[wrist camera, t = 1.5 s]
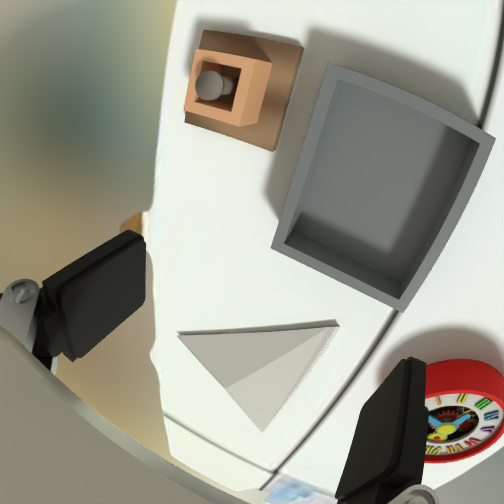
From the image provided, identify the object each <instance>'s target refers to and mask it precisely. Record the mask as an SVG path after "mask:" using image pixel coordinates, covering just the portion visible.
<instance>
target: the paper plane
mask: <svg viewBox="0 0 504 504" xmlns="http://www.w3.org/2000/svg"><path fill="white" fill-rule="evenodd" d="M339 328H340V326H338V327H323V328H312V329H301V330H288V331H275V332H252V333H221V334H202V335H179V336H177V337H178V338H179V339H180V340H181V341H182V343H183V344H184V345H185V346H186V347H187V348H188V349H189V350H190V352H191V353H192V354H193V355H194V356H195V357H196V358H197V359H198V361H199V362H200V363H201V364H202V365H203V366H204V367H205V368H206V369H207V370H208V371H209V373H210V374H211V375H212V376H213V377H214V378H215V379H216V380H217V381H218V382H219V383H220V384H221V385H222V386H223V387H224V388H225V390H226V391H227V392H228V393H229V395H230V396H231V397H232V398H233V399H234V401H235V402H236V403H237V404H238V405H239V407H240V408H241V409H242V410H243V411H244V413H245V414H246V415H247V416H248V417H249V418H250V420H251V421H252V422H253V423H254V424H255V425H256V426H257V428H258V429H259V430H260V431H261V432H263V431H264V430H265V429H266V428H267V426H268V425H269V424H270V423H271V421H272V420H273V419H274V418H275V417H276V415H277V414H278V413H279V412H280V410H281V409H282V408H283V406H284V405H285V404H286V403H287V401H288V400H289V399H290V398H291V396H292V395H293V394H294V392H295V391H296V390H297V388H298V387H299V386H300V384H301V383H302V382H303V380H304V379H305V378H306V376H307V375H308V374H309V372H310V371H311V369H312V368H313V367H314V365H315V364H316V363H317V361H318V360H319V358H320V357H321V355H322V354H323V353H324V351H325V350H326V348H327V347H328V345H329V344H330V342H331V341H332V340H333V338H334V337H335V335H336V333H337V331H338V330H339Z"/></svg>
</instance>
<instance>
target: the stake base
mask: <svg viewBox="0 0 504 504" xmlns="http://www.w3.org/2000/svg"><path fill="white" fill-rule="evenodd" d="M199 49H202V50H208V51H215V52H221V53H227V54H232V55H237V56H242V57H247V58H252V59H257V60H261V61H265V62H270V63H273V64H272V67H271V71H270V75H269V79H268V82H267V86H266V90H265V94H264V98H263V102H262V105H261V109H260V113H259V117H258V121H257V123H256V124H251V125H246V126H241V127H238V126H235V125H232V124H229V123H226V122H222V121H219V120H216V119H213V118H209V117H206V116H202V115H199V114H195V113H192V112H188V111H186V116H185V123H189V124H192V125H195V126H198V127H202V128H205V129H208V130H211V131H214V132H217V133H220V134H223V135H226V136H229V137H232V138H235V139H238V140H241V141H244V142H246V143H249V144H252V145H255V146H258V147H260V148H263V149H266V150H269V151H271V152H272V151H275V149H276V146H277V142H278V139H279V135H280V132H281V128H282V124H283V121H284V117H285V114H286V110H287V107H288V103H289V100H290V96H291V92H292V89H293V85H294V82H295V78H296V75H297V71H298V68H299V64H300V61H301V57H302V54H303V50H304V48H302V47H298V46H294V45H290V44H286V43H281V42H276V41H272V40H267V39H262V38H256V37H251V36H245V35H238V34H232V33H225V32H217V31H209V30H203V35H202V39H201V43H200V47H199ZM241 70H242V68H237V67H233V66H228V65H223V66H222V71H221V75H220V74H219V73H218V72H215V71H205V72H203V73H201V74H200V75H199V76H198V77H197V79H196V82H195V90H196V93H197V95H198V96H199V97H200V98H201V99H203V100H216V101H219V102H223V103H227V104H230V105H233V103H234V99H235V95H236V91H237V86H238V82H239V78H240V74H241Z"/></svg>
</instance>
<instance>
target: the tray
mask: <svg viewBox="0 0 504 504" xmlns="http://www.w3.org/2000/svg"><path fill="white" fill-rule="evenodd" d="M495 139H496V138H494V137H493V136H491V135H490V134H488V133H486V132H485V131H483V130H481V129H480V128H478V127H476V126H474V125H473V124H471V123H469V122H467V121H466V120H464V119H462V118H460V117H458V116H457V115H455V114H453V113H451V112H449V111H447V110H445V109H443V108H441V107H439V106H437V105H435V104H433V103H431V102H429V101H427V100H425V99H423V98H420V97H418V96H416V95H414V94H412V93H409V92H407V91H405V90H402V89H400V88H398V87H395V86H393V85H390V84H388V83H385V82H383V81H380V80H378V79H375V78H372V77H370V76H367V75H364V74H361V73H359V72H356V71H353V70H350V69H347V68H344V67H341V66H338V65H335V64H331V63H328V64H327V68H326V71H325V75H324V78H323V81H322V85H321V88H320V91H319V95H318V98H317V101H316V105H315V108H314V111H313V115H312V118H311V121H310V124H309V128H308V131H307V134H306V137H305V141H304V144H303V147H302V150H301V154H300V157H299V160H298V163H297V166H296V170H295V173H294V176H293V179H292V182H291V186H290V189H289V192H288V195H287V198H286V202H285V205H284V208H283V211H282V214H281V217H280V220H279V224H278V227H277V230H276V233H275V236H274V239H273V242H272V245H271V249H274V250H276V251H278V252H280V253H282V254H284V255H286V256H288V257H290V258H292V259H294V260H296V261H298V262H300V263H302V264H305V265H307V266H309V267H311V268H313V269H315V270H317V271H319V272H321V273H323V274H325V275H327V276H329V277H331V278H333V279H335V280H337V281H339V282H341V283H343V284H346V285H348V286H350V287H352V288H354V289H356V290H358V291H360V292H362V293H364V294H366V295H368V296H370V297H372V298H374V299H376V300H378V301H380V302H382V303H384V304H386V305H388V306H390V307H392V308H394V309H396V310H398V311H400V312H402V313H403V312H404V311H405V309H406V308H407V306H408V305H409V303H410V302H411V300H412V299H413V297H414V296H415V294H416V293H417V291H418V290H419V288H420V287H421V285H422V284H423V282H424V280H425V279H426V277H427V276H428V274H429V272H430V271H431V269H432V267H433V266H434V264H435V262H436V261H437V259H438V257H439V256H440V254H441V252H442V250H443V249H444V247H445V245H446V243H447V242H448V240H449V238H450V236H451V234H452V233H453V231H454V229H455V227H456V225H457V223H458V221H459V219H460V217H461V215H462V213H463V212H464V210H465V208H466V206H467V204H468V201H469V199H470V197H471V195H472V193H473V191H474V189H475V187H476V185H477V182H478V180H479V178H480V176H481V173H482V171H483V169H484V167H485V164H486V162H487V159H488V157H489V155H490V152H491V150H492V147H493V145H494V142H495Z"/></svg>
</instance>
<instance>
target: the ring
mask: <svg viewBox="0 0 504 504" xmlns="http://www.w3.org/2000/svg"><path fill="white" fill-rule="evenodd" d="M272 64H273V63H270V62H265V61H261V60H257V59H252V58H247V57H242V56H237V55H232V54H227V53H221V52H215V51H208V50H202V49H196V50H195V55H194V59H193V64H192V69H191V74H190V78H189V83H188V89H187V94H186V99H185V104H184V110H185V111H188V112H192V113H195V114H199V115H202V116H206V117H209V118H213V119H216V120H219V121H222V122H226V123H229V124H232V125H235V126H238V127H241V126H246V125H251V124H256V123H257V121H258V117H259V113H260V109H261V105H262V102H263V98H264V94H265V90H266V86H267V82H268V79H269V75H270V71H271V67H272ZM223 65H228V66H233V67H237V68H242V70H241V74H240V78H239V82H238V86H237V91H236V95H235V99H234V103H233V105H230V104H227V103H223V102H219V101H216V100H203V99H201V98H200V97H199V96H198V95H197V93H196V90H195V82H196V79H197V77H198V76H199V75H200V74H201V73H203V72H205V71H215V72H218V73H219V74H220V75H221V71H222V66H223Z"/></svg>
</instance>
